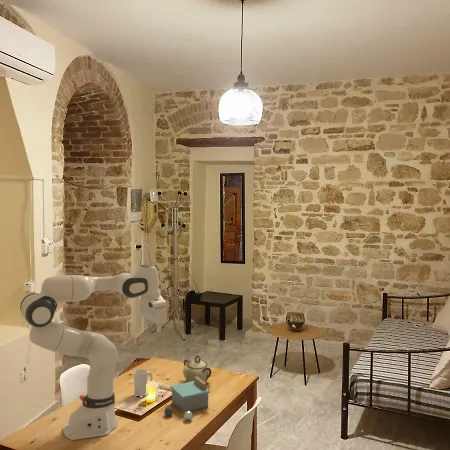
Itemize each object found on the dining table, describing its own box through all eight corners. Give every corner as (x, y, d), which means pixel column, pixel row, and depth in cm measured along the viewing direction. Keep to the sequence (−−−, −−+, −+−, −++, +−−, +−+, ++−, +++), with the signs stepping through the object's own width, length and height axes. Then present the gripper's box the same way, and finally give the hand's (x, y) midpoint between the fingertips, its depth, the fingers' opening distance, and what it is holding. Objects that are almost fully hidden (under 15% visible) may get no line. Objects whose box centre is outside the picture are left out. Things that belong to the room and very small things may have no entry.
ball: (166, 418, 217) (166, 409, 217) (163, 414, 221) (163, 406, 221) (174, 416, 219) (174, 407, 219) (171, 412, 223) (171, 404, 223)
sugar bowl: (220, 383, 257) (220, 356, 256) (201, 392, 245) (201, 363, 244) (193, 374, 270) (193, 348, 268) (174, 382, 258) (174, 354, 257)
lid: (182, 398, 221) (182, 390, 221) (170, 387, 233) (170, 379, 233) (209, 392, 228) (209, 384, 228) (196, 382, 240) (196, 374, 240)
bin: (183, 413, 222) (183, 398, 222) (171, 402, 233) (171, 388, 233) (208, 407, 229) (208, 393, 228) (195, 397, 240) (195, 383, 239)
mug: (138, 399, 237) (138, 375, 236) (131, 394, 242) (131, 371, 241) (155, 393, 243) (156, 370, 242) (148, 389, 248) (149, 366, 247)
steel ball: (186, 422, 214) (186, 414, 213) (182, 419, 217) (182, 410, 217) (194, 420, 216) (194, 412, 215) (190, 417, 219) (190, 408, 219)
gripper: (135, 297, 224) (138, 326, 226) (155, 305, 207) (158, 336, 209) (147, 294, 227) (150, 322, 229) (168, 302, 211) (171, 332, 212)
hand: (154, 329), depth 219 cm, fingers open, 8 cm apart
